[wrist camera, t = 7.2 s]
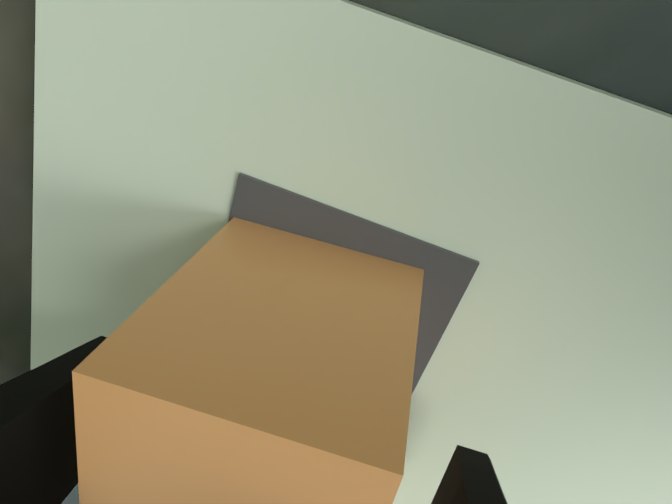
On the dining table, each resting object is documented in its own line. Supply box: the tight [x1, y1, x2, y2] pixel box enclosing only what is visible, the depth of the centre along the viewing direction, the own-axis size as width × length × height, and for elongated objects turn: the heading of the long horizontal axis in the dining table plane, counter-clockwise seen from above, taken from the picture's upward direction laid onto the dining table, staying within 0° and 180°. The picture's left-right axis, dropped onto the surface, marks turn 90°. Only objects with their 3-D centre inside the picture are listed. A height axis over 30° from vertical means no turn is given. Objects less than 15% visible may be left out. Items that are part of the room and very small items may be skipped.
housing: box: [72, 217, 424, 504], centre depth 10 cm, size 4×7×5 cm, turn 168°
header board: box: [30, 0, 672, 504], centre depth 11 cm, size 18×14×4 cm
